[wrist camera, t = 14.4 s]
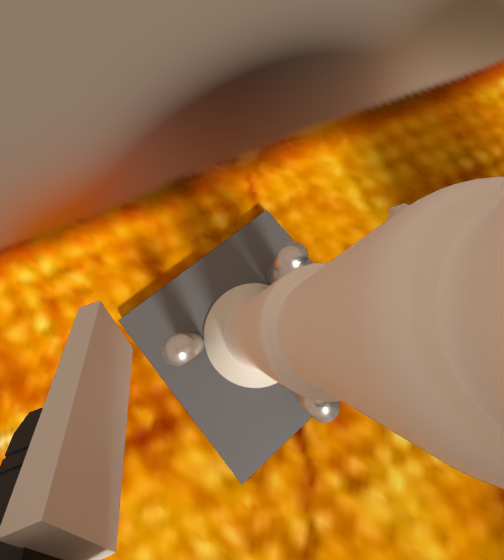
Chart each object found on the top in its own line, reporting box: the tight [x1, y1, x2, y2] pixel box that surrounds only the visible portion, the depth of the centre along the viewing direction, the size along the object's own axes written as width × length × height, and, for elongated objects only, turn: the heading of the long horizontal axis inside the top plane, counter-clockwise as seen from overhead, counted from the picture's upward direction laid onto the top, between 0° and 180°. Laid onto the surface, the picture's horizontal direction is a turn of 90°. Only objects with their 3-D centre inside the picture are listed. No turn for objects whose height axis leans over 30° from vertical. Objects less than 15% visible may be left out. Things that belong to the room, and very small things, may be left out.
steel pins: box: [161, 242, 340, 422], centre depth 19 cm, size 11×10×7 cm
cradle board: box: [119, 210, 313, 484], centre depth 23 cm, size 16×16×1 cm
